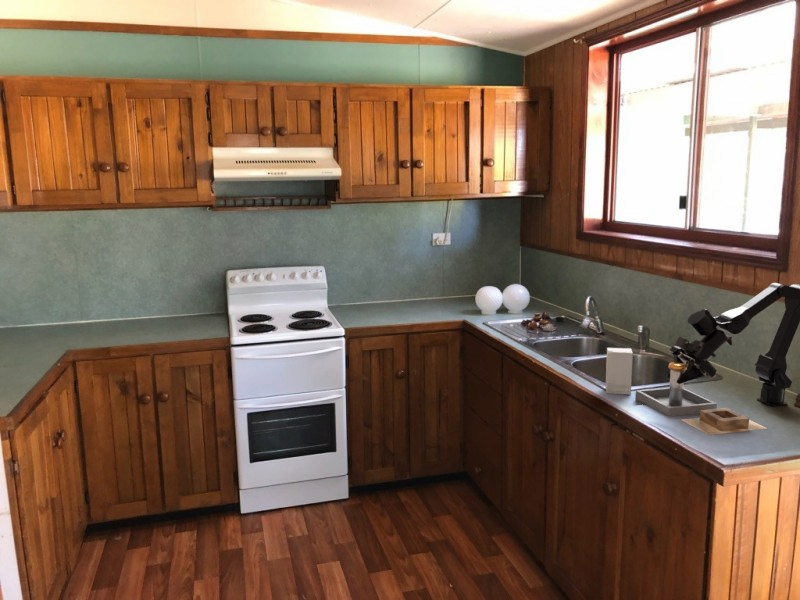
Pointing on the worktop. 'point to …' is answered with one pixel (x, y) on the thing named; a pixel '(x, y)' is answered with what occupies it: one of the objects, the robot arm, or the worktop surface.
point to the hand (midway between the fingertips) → (672, 380)
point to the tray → (661, 402)
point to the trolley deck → (714, 431)
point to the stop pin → (676, 388)
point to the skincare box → (619, 370)
